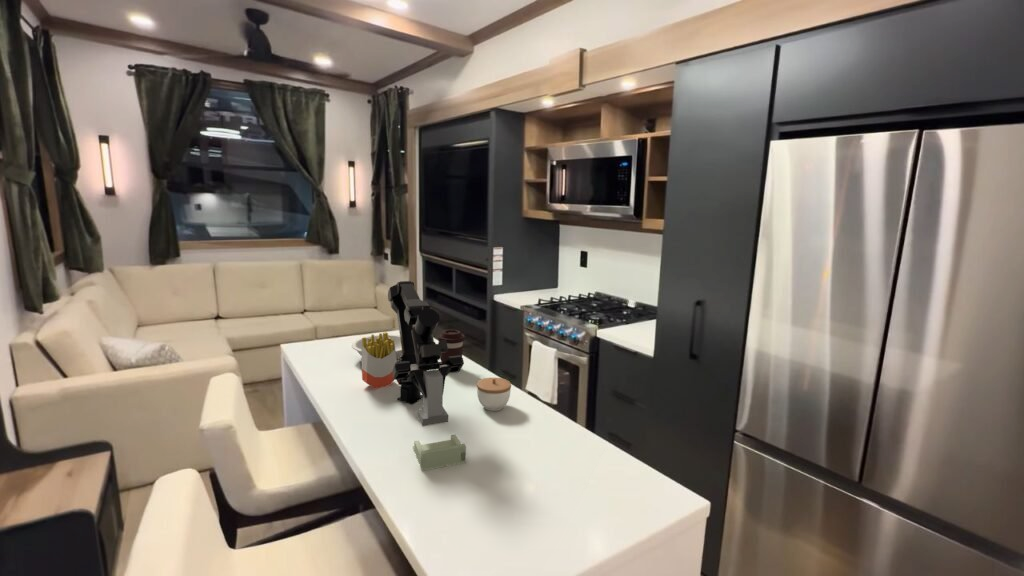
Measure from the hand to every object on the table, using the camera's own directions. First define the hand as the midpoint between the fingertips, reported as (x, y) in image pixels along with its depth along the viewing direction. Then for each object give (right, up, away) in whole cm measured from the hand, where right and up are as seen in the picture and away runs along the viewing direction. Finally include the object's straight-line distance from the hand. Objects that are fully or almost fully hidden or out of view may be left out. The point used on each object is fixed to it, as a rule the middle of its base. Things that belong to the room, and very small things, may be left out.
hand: (434, 396), depth 125 cm
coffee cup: (-3, -3, +55) cm, 55 cm away
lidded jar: (+15, -9, +24) cm, 30 cm away
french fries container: (-25, -5, +38) cm, 46 cm away
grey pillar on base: (-1, -7, +3) cm, 7 cm away
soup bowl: (-31, 0, +65) cm, 72 cm away
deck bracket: (+2, -14, -5) cm, 15 cm away
